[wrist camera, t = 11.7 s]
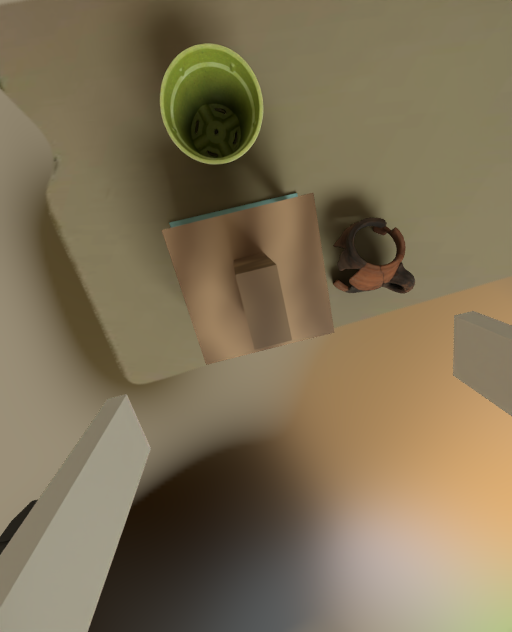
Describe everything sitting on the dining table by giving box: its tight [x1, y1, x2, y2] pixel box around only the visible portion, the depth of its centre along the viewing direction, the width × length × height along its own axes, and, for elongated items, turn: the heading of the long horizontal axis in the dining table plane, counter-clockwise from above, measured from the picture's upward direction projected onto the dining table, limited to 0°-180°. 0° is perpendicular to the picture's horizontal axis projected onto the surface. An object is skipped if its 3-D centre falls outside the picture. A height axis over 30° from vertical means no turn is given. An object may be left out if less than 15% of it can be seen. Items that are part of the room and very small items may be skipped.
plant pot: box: [160, 43, 263, 164], centre depth 30 cm, size 9×9×9 cm
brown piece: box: [162, 193, 334, 365], centre depth 30 cm, size 14×14×20 cm
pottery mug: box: [333, 218, 415, 293], centre depth 38 cm, size 12×10×8 cm
